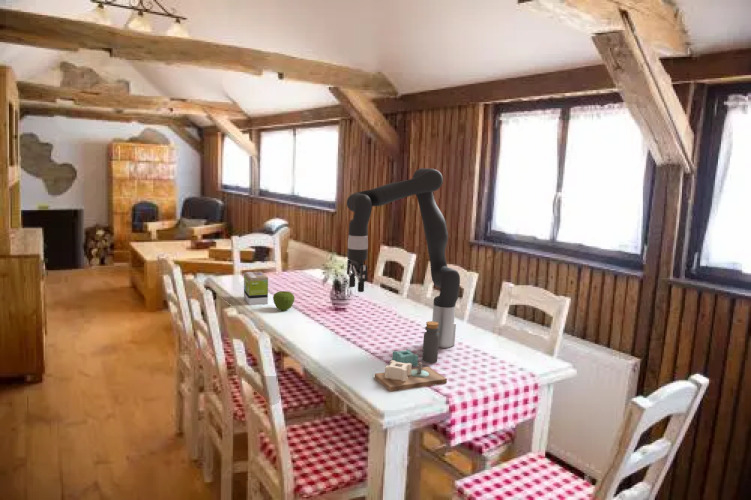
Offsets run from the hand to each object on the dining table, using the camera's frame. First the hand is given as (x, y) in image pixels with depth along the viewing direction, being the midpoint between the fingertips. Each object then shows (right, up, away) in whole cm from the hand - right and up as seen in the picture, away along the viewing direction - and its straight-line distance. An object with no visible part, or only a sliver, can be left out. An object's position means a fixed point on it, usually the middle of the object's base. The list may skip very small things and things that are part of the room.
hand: (356, 289), depth 200 cm
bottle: (+28, -28, +4) cm, 40 cm away
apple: (-39, -15, +65) cm, 77 cm away
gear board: (+19, -30, -17) cm, 40 cm away
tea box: (-56, -13, +79) cm, 98 cm away
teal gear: (+18, -28, -1) cm, 33 cm away
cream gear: (+15, -29, -18) cm, 37 cm away
